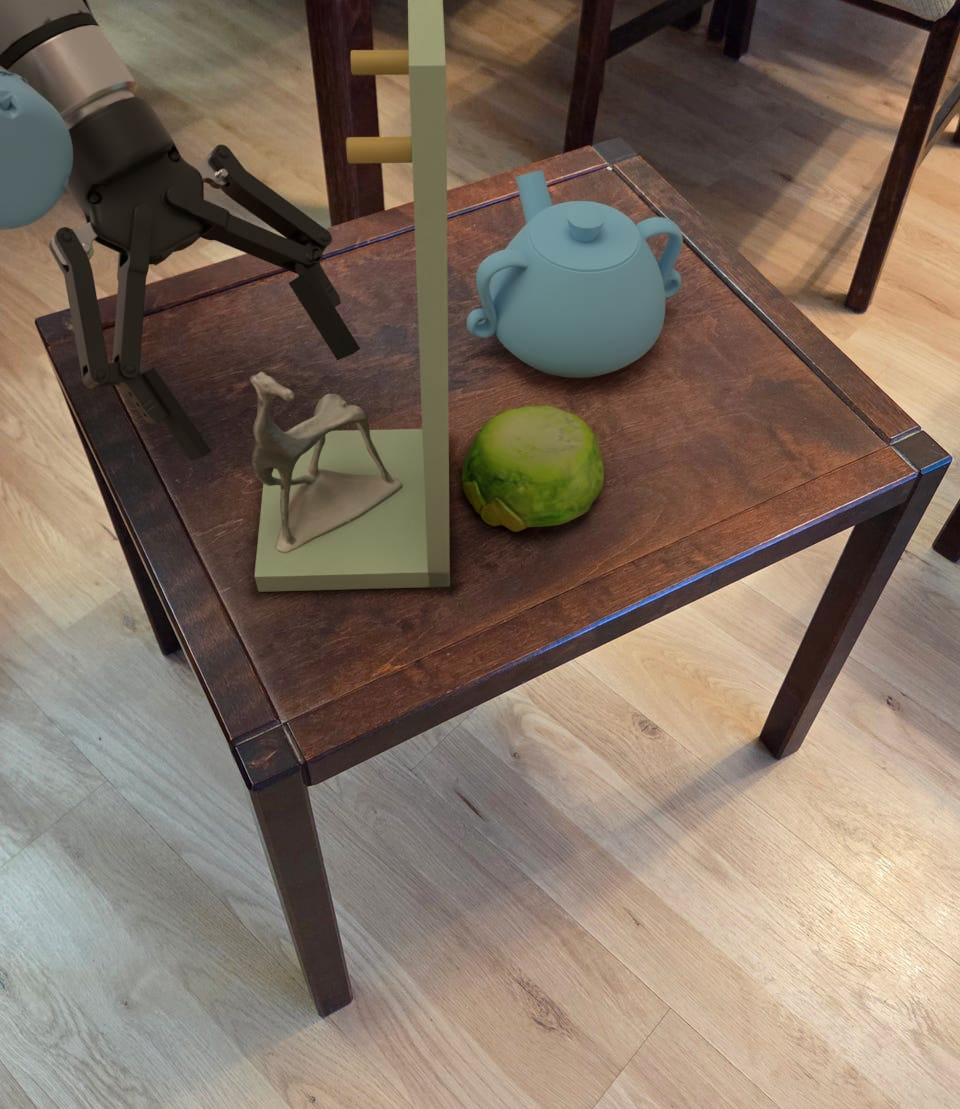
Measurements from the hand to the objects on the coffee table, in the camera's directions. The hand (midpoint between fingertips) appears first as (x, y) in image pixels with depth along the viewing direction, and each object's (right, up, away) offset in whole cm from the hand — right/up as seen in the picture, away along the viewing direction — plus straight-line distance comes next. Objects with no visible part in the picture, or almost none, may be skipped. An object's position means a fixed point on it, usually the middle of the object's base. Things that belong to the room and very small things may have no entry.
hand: (278, 404), depth 74 cm
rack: (+5, -8, +7) cm, 11 cm away
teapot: (+22, +11, +21) cm, 32 cm away
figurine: (+3, -6, +6) cm, 9 cm away
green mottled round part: (+19, -5, +10) cm, 21 cm away
